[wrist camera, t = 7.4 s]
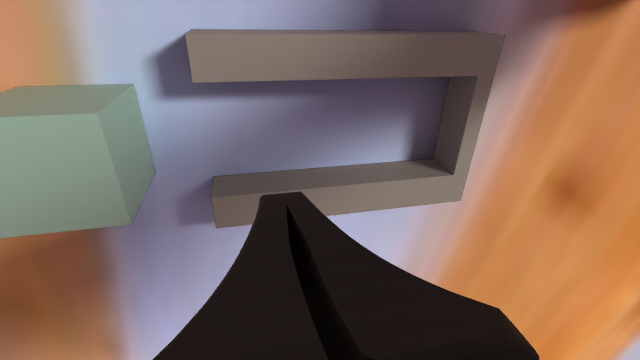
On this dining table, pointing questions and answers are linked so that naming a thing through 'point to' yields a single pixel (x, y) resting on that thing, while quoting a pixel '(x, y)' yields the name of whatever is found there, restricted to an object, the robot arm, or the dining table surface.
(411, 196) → the chute
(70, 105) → the block
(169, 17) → the dining table surface
